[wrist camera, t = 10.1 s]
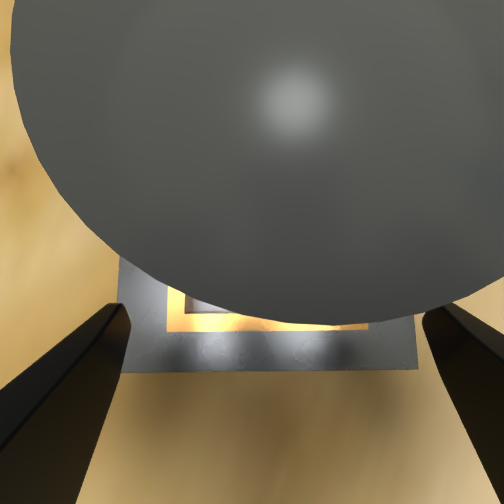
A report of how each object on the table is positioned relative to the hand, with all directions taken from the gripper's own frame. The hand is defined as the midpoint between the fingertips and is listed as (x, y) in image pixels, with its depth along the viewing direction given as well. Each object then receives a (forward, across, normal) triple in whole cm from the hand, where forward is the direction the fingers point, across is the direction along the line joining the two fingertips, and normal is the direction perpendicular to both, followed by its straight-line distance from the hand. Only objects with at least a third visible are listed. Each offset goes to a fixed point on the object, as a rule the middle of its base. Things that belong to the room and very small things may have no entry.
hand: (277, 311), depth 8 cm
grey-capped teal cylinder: (+7, 0, +2) cm, 8 cm away
